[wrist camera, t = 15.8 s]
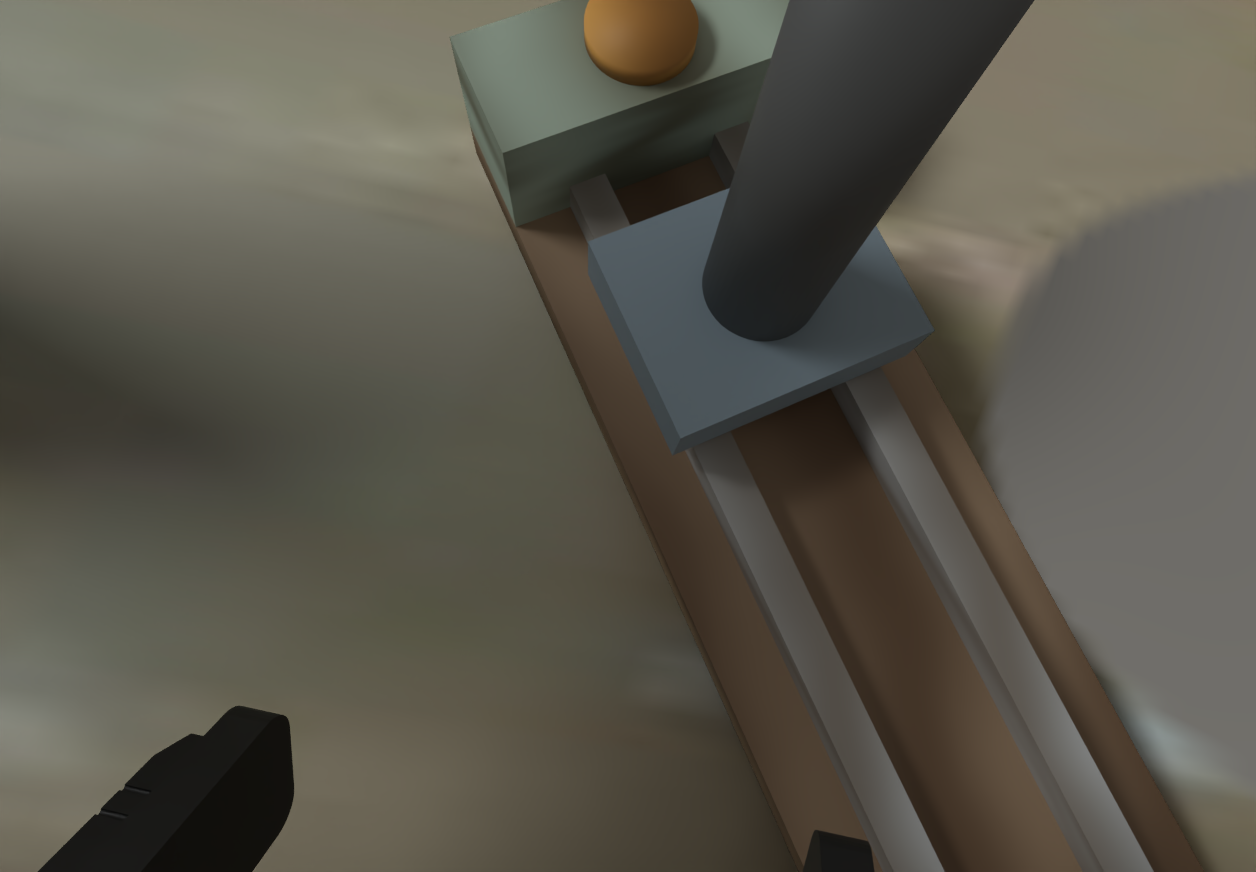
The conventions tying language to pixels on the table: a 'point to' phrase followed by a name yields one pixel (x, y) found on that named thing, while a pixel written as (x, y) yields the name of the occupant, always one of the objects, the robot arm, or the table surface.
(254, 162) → the table surface
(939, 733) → the rail track
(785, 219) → the carriage
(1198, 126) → the table surface
